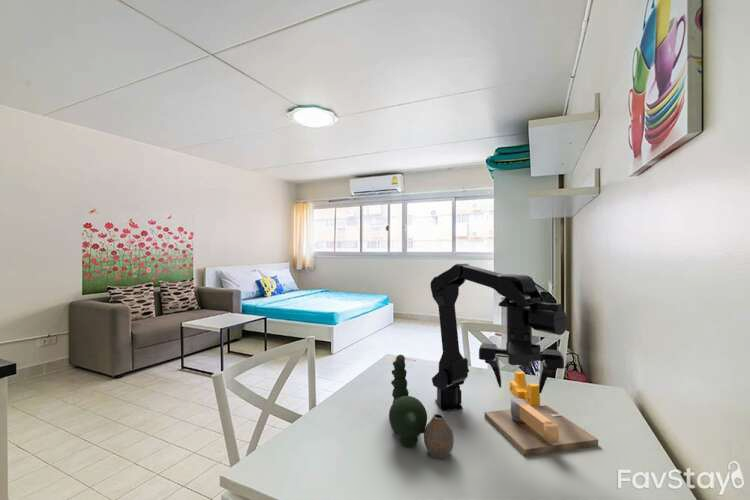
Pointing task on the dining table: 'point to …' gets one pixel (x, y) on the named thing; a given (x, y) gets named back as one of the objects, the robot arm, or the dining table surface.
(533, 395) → the pipe clamp
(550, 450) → the mount plate
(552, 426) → the latch lever
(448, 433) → the vase
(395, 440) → the dining table surface
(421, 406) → the toy figurine
